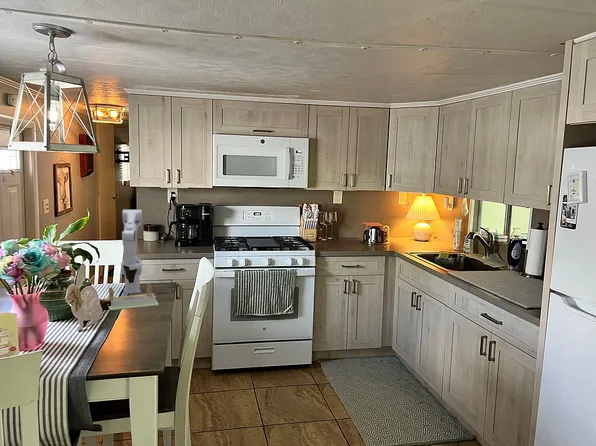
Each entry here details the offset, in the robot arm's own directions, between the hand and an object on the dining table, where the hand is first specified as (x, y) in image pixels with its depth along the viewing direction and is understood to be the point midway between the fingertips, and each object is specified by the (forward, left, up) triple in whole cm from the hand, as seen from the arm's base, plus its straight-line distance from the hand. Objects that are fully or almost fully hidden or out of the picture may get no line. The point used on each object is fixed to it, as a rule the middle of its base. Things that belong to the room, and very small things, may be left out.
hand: (130, 281), depth 237 cm
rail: (+11, 0, -9) cm, 14 cm away
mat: (+11, 0, -9) cm, 14 cm away
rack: (+1, 0, -9) cm, 9 cm away
